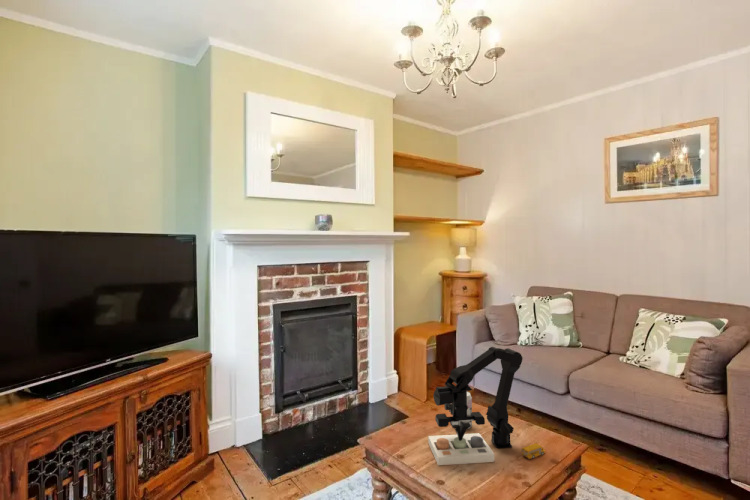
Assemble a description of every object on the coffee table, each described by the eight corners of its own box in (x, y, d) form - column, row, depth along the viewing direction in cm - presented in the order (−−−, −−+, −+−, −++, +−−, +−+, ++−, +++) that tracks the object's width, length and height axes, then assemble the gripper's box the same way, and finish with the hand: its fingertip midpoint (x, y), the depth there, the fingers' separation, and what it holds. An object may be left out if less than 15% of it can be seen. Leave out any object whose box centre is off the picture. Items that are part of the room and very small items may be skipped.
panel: (479, 440, 163) (479, 432, 163) (494, 461, 147) (494, 453, 147) (428, 443, 161) (428, 435, 161) (438, 465, 145) (438, 457, 145)
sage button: (463, 444, 157) (463, 436, 156) (467, 450, 152) (467, 442, 152) (452, 444, 156) (452, 437, 156) (455, 451, 151) (455, 443, 151)
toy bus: (545, 454, 152) (545, 444, 152) (528, 460, 148) (528, 451, 148) (538, 450, 155) (538, 441, 155) (521, 456, 150) (521, 447, 150)
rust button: (447, 445, 156) (446, 437, 156) (450, 451, 151) (450, 443, 151) (435, 445, 155) (435, 438, 155) (438, 452, 151) (438, 444, 151)
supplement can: (453, 421, 180) (452, 389, 180) (471, 422, 179) (470, 390, 179) (454, 429, 172) (453, 396, 172) (473, 430, 171) (472, 397, 171)
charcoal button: (480, 443, 157) (480, 435, 157) (484, 449, 152) (484, 441, 152) (469, 443, 157) (469, 436, 157) (473, 450, 152) (473, 442, 152)
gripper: (475, 392, 162) (475, 429, 163) (431, 394, 161) (432, 431, 161) (485, 403, 151) (485, 442, 152) (438, 406, 150) (439, 445, 150)
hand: (460, 440), depth 154 cm, fingers closed, pressing on sage button
